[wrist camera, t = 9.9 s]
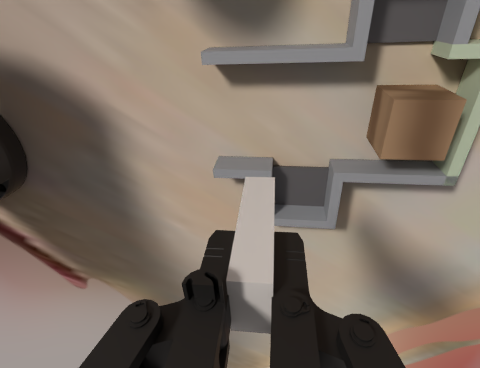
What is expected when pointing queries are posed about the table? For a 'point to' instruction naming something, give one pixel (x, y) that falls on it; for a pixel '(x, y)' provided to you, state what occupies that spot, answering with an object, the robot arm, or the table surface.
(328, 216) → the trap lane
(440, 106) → the walnut block
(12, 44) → the table surface
